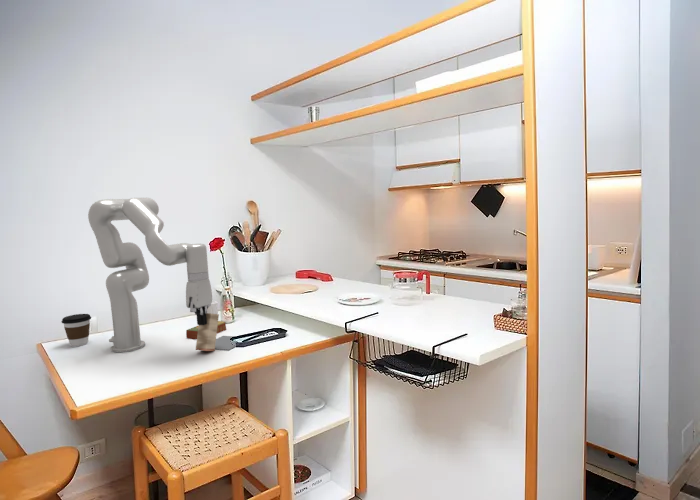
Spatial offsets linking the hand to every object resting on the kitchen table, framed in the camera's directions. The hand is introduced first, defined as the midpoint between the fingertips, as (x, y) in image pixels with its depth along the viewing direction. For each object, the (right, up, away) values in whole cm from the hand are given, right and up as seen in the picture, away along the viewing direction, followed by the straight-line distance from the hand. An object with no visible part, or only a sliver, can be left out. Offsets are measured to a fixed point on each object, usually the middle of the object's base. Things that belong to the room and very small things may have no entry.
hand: (202, 324), depth 179 cm
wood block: (+1, -10, +2) cm, 10 cm away
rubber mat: (+6, -10, +12) cm, 17 cm away
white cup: (-10, -7, +46) cm, 48 cm away
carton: (-7, -9, +28) cm, 30 cm away
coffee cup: (-58, -12, +21) cm, 63 cm away
